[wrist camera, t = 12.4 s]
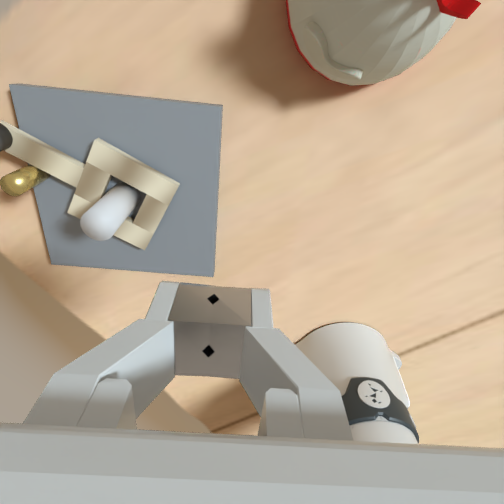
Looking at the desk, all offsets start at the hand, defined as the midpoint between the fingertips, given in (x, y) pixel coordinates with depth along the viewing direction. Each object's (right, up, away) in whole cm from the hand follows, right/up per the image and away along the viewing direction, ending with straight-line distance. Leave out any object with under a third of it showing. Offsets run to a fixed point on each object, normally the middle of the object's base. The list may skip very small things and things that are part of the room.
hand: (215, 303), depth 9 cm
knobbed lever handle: (-17, +10, +26) cm, 32 cm away
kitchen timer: (+11, +24, +20) cm, 33 cm away
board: (-13, +9, +29) cm, 32 cm away
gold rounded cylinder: (-21, +10, +26) cm, 35 cm away
